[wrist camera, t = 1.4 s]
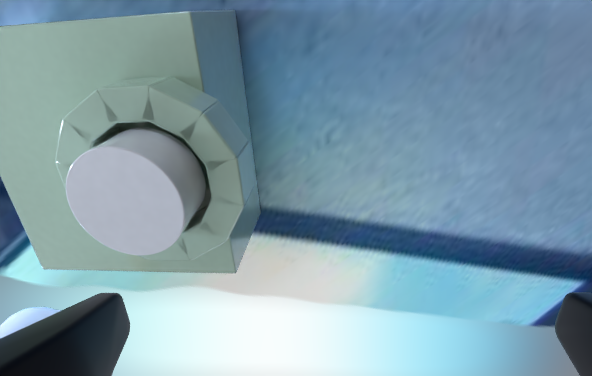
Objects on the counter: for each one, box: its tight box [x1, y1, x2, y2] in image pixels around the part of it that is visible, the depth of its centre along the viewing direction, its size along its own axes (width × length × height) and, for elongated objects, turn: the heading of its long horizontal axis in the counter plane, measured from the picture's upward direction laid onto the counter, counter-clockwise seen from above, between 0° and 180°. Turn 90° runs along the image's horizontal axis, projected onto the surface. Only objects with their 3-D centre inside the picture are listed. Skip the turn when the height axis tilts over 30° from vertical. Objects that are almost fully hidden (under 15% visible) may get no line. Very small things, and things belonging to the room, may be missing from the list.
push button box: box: [0, 10, 261, 273], centre depth 17 cm, size 11×11×8 cm
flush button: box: [66, 127, 206, 255], centre depth 13 cm, size 4×4×2 cm
